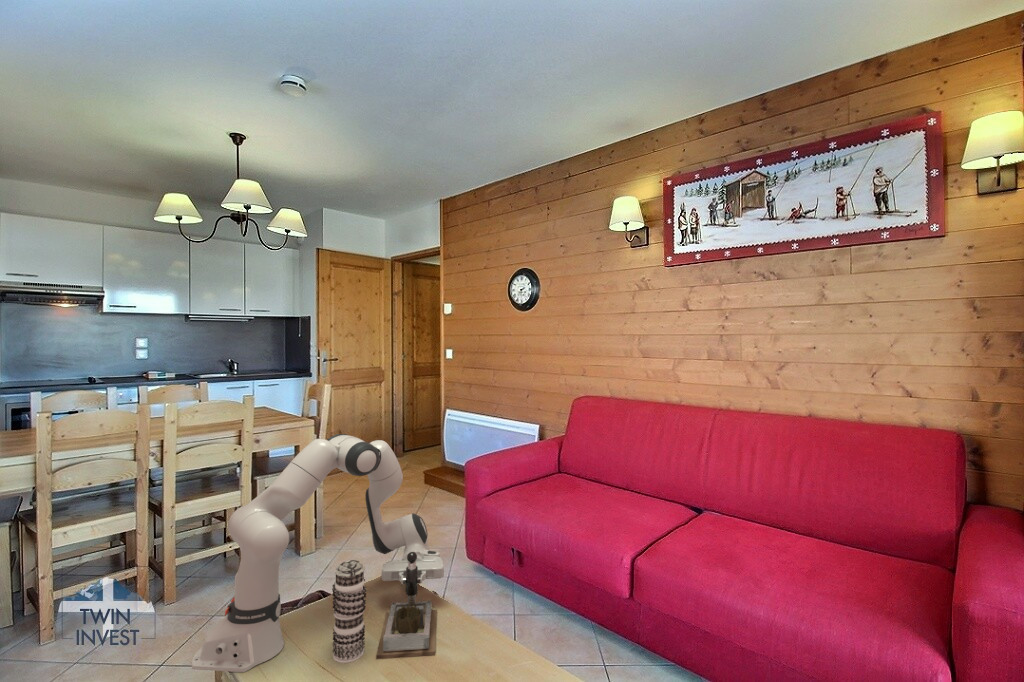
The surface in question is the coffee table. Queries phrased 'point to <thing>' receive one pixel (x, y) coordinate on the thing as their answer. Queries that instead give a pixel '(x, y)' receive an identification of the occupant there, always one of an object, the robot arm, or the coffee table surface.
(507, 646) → the coffee table surface
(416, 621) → the cup
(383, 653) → the base
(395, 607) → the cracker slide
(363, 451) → the robot arm
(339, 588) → the decorative candle
